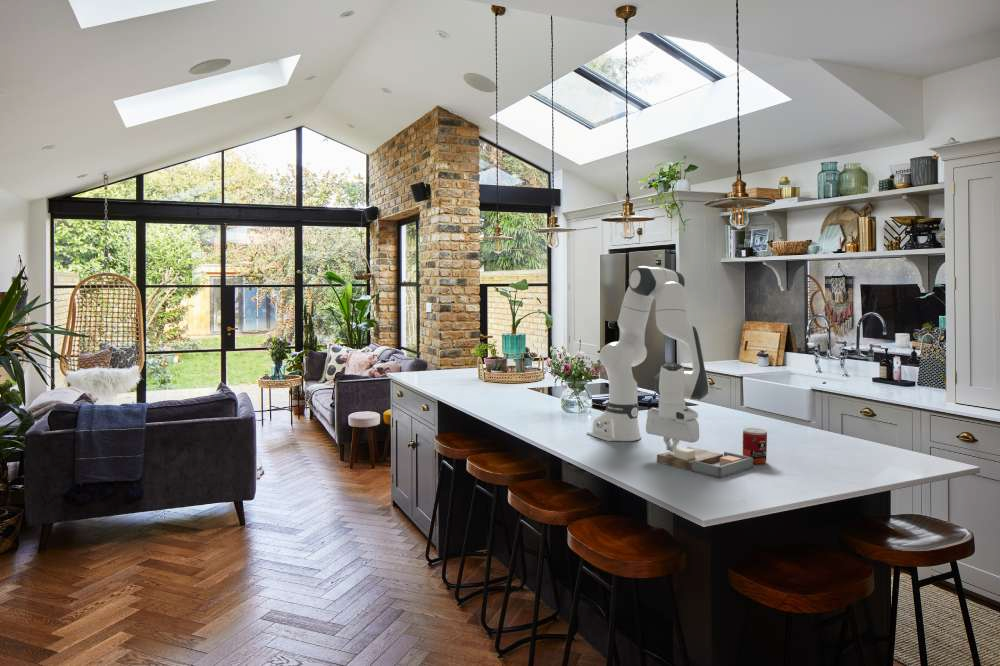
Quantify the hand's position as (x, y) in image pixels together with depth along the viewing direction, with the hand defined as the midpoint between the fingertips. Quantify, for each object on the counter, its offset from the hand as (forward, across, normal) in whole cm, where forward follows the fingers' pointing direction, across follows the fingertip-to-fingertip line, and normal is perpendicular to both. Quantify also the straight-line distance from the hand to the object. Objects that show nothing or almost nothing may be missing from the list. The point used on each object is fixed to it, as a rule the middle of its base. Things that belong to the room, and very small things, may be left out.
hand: (671, 450), depth 227 cm
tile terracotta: (+3, +17, +9) cm, 20 cm away
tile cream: (+1, +5, 0) cm, 6 cm away
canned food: (+4, +18, +22) cm, 29 cm away
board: (+4, +4, +5) cm, 7 cm away
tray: (+4, +17, +5) cm, 18 cm away
